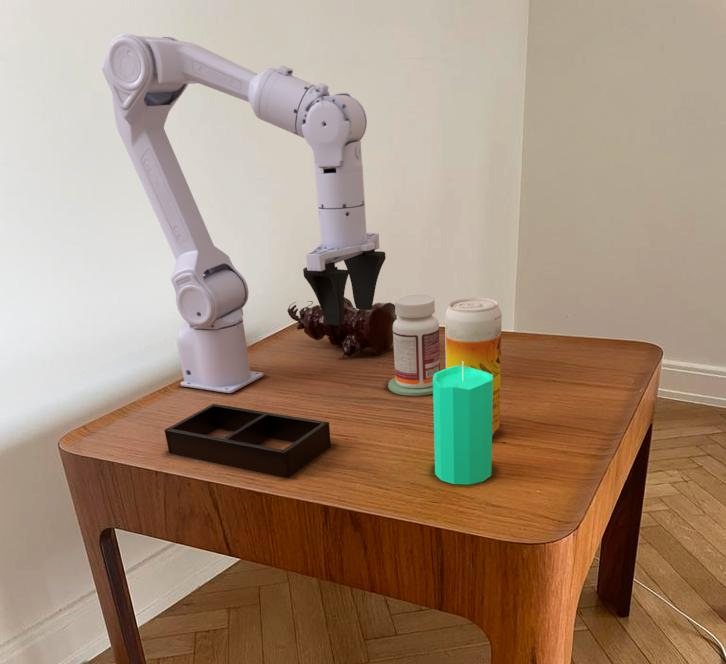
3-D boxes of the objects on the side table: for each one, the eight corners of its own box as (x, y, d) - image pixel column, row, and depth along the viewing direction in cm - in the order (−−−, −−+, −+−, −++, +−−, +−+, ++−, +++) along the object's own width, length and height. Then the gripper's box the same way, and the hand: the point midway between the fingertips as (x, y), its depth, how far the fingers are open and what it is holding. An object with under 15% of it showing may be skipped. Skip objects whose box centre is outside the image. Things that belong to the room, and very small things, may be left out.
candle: (430, 462, 81) (427, 355, 75) (485, 456, 81) (486, 349, 75) (440, 487, 75) (437, 374, 70) (498, 481, 76) (500, 368, 70)
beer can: (498, 443, 84) (500, 310, 77) (444, 441, 85) (441, 311, 78) (500, 422, 89) (502, 296, 82) (449, 421, 90) (447, 297, 84)
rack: (168, 453, 87) (164, 429, 86) (217, 425, 94) (213, 403, 93) (287, 478, 80) (284, 452, 78) (331, 446, 86) (329, 422, 85)
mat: (377, 391, 101) (377, 388, 101) (404, 373, 107) (404, 370, 107) (431, 399, 97) (431, 395, 97) (455, 379, 103) (455, 376, 103)
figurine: (390, 377, 116) (295, 367, 125) (409, 319, 119) (315, 313, 127) (364, 345, 108) (265, 337, 117) (385, 284, 110) (286, 281, 119)
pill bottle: (437, 373, 105) (435, 292, 100) (443, 388, 99) (441, 303, 94) (393, 376, 105) (389, 295, 100) (396, 391, 99) (392, 306, 94)
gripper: (338, 215, 83) (347, 334, 90) (397, 197, 94) (402, 304, 101) (286, 214, 87) (299, 329, 93) (349, 197, 98) (357, 301, 104)
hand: (349, 316), depth 97 cm, fingers open, 7 cm apart
